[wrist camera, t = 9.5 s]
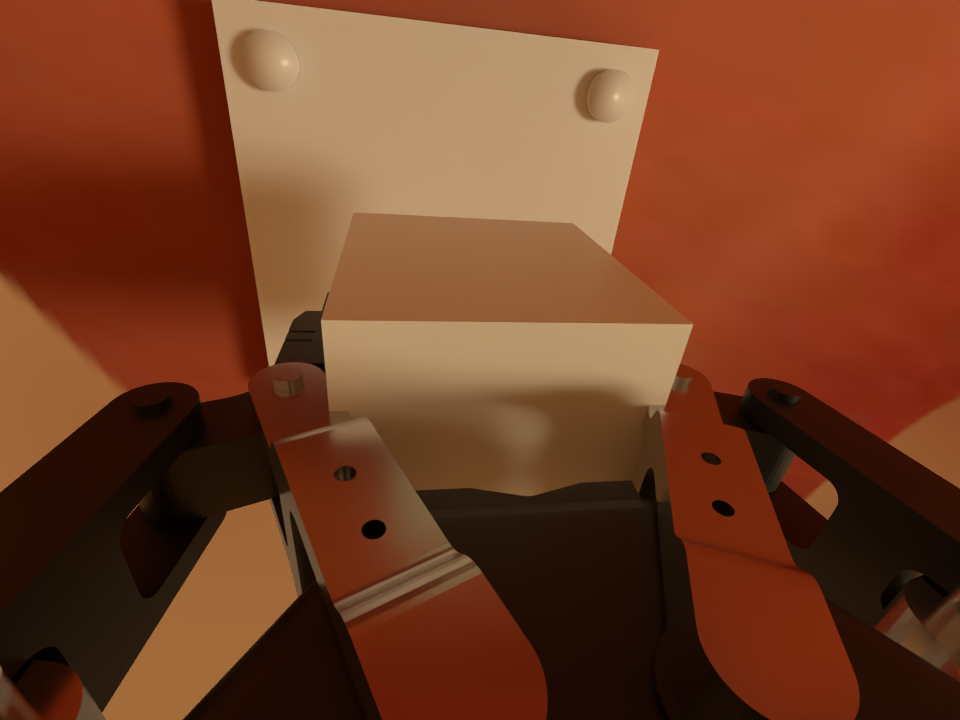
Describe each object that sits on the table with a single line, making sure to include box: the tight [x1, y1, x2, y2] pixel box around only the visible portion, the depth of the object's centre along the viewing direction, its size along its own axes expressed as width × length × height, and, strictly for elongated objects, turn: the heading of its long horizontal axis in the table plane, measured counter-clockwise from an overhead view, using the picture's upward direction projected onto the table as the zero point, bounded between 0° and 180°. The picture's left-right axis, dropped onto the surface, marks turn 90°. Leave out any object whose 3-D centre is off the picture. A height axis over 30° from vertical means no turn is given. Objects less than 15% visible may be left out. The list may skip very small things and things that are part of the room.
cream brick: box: [321, 212, 693, 496], centre depth 11 cm, size 6×6×6 cm
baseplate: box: [212, 0, 659, 366], centre depth 19 cm, size 14×14×2 cm
